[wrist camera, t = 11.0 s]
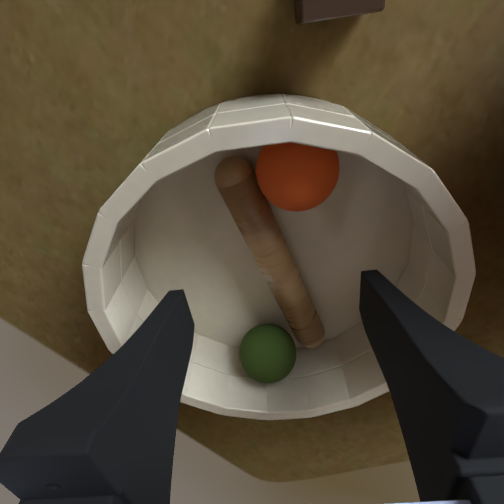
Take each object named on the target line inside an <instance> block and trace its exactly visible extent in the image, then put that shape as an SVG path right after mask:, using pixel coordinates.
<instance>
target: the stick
mask: <svg viewBox="0 0 504 504" xmlns="http://www.w3.org/2000/svg"><path fill="white" fill-rule="evenodd" d="M214 180H215V184H216V186H217V188H218V190H219V192H220V194H221V196H222V198H223V200H224V202H225V204H226V206H227V207H228V209H229V211H230V213H231V215H232V217H233V219H234V221H235V223H236V225H237V227H238V229H239V230H240V232H241V234H242V236H243V238H244V240H245V242H246V244H247V246H248V248H249V250H250V252H251V253H252V255H253V257H254V259H255V261H256V263H257V265H258V267H259V269H260V271H261V273H262V275H263V276H264V278H265V280H266V282H267V284H268V286H269V288H270V290H271V292H272V294H273V296H274V298H275V299H276V301H277V303H278V305H279V307H280V309H281V311H282V313H283V315H284V317H285V319H286V321H287V322H288V324H289V326H290V328H291V330H292V332H293V334H294V336H295V338H296V340H297V341H298V343H299V344H300V345H302V346H303V347H306V348H315V347H318V346H319V345H320V344H321V343H322V342H323V341H324V338H325V329H324V326H323V324H322V322H321V320H320V317H319V315H318V313H317V311H316V308H315V306H314V304H313V302H312V299H311V297H310V295H309V293H308V290H307V288H306V286H305V284H304V281H303V279H302V277H301V275H300V272H299V270H298V268H297V266H296V263H295V261H294V259H293V257H292V254H291V252H290V250H289V248H288V245H287V243H286V241H285V239H284V236H283V234H282V232H281V230H280V227H279V225H278V223H277V221H276V218H275V216H274V214H273V212H272V209H271V207H270V205H269V203H268V200H267V198H266V197H265V196H264V194H263V193H262V191H261V189H260V187H259V184H258V181H257V176H256V173H255V171H254V169H253V167H252V165H251V164H250V163H249V162H248V161H247V160H246V159H244V158H242V157H238V156H230V157H227V158H225V159H223V160H222V161H221V162H220V163H219V164H218V165H217V167H216V170H215V173H214Z"/></svg>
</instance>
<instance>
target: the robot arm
mask: <svg viewBox="0 0 504 504" xmlns="http://www.w3.org/2000/svg"><path fill="white" fill-rule="evenodd" d="M359 311H360V315H361V319H362V322H363V326H364V329H365V333H366V335H367V337H368V340H369V342H370V345H371V347H372V349H373V352H374V354H375V357H376V359H377V361H378V364H379V366H380V368H381V371H382V373H383V375H384V378H385V380H386V383H387V385H388V388H389V391H390V394H391V397H392V400H393V403H394V407H395V410H396V413H397V416H398V420H399V423H400V427H401V430H402V434H403V437H404V441H405V444H406V448H407V451H408V455H409V459H410V463H411V466H412V470H413V473H414V477H415V482H416V485H417V489H418V493H419V497H420V501H421V502H407V503H388V504H504V358H502V357H500V356H498V355H496V354H494V353H492V352H490V351H488V350H486V349H484V348H482V347H481V346H479V345H477V344H475V343H473V342H471V341H470V340H468V339H466V338H465V337H463V336H461V335H459V334H458V333H456V332H455V331H453V330H452V329H450V328H448V327H447V326H445V325H444V324H442V323H441V322H439V321H438V320H436V319H435V318H434V317H432V316H431V315H430V314H428V313H427V312H426V311H424V310H423V309H422V308H420V307H419V306H418V305H417V304H415V303H414V302H413V301H412V300H411V299H409V298H408V297H407V296H406V295H405V294H404V293H402V292H401V291H400V290H399V289H398V288H397V287H396V286H395V285H393V284H392V283H391V282H390V281H389V280H388V279H387V278H386V277H385V276H384V275H383V274H381V273H380V272H379V271H378V270H377V269H376V270H367V271H361V281H360V300H359ZM194 327H195V324H194V321H193V318H192V314H191V311H190V308H189V305H188V302H187V299H186V296H185V293H184V290H183V289H180V290H170V291H168V293H167V294H166V295H165V296H164V297H163V299H162V300H161V301H160V302H159V304H158V305H157V306H156V307H155V309H154V310H153V311H152V312H151V314H150V315H149V316H148V317H147V318H146V320H145V321H144V322H143V323H142V324H141V326H140V327H139V328H138V329H137V330H136V331H135V332H134V334H133V335H132V336H131V337H130V338H129V339H128V340H127V341H126V342H125V343H124V344H123V345H122V346H121V347H120V348H119V349H118V350H117V351H116V352H115V353H114V354H113V355H112V356H111V357H110V358H109V359H108V360H107V361H106V362H105V363H103V364H102V365H101V366H100V367H99V368H97V369H96V370H95V371H94V372H93V373H91V374H90V375H89V376H88V377H86V378H85V379H84V380H83V381H82V382H80V383H79V384H78V385H76V386H75V387H74V388H72V389H71V390H70V391H68V392H67V393H66V394H64V395H62V396H61V397H59V398H58V399H57V400H55V401H54V402H52V403H51V404H49V405H48V406H46V407H44V408H43V409H41V410H40V411H38V412H36V413H35V414H33V415H31V416H30V417H28V418H27V419H25V420H23V421H22V422H20V423H18V425H17V426H16V428H15V429H14V431H13V433H12V435H11V436H10V438H9V439H8V441H7V443H6V444H5V446H4V448H3V450H2V451H1V453H0V483H1V484H2V485H4V486H5V487H6V488H7V489H8V490H10V491H11V492H12V493H13V494H14V495H16V496H17V497H18V498H19V499H20V502H19V504H170V489H171V478H172V465H173V455H174V446H175V436H176V428H177V420H178V412H179V405H180V400H181V395H182V391H183V387H184V382H185V378H186V374H187V370H188V365H189V361H190V357H191V352H192V347H193V339H194Z"/></svg>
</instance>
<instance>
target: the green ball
mask: <svg viewBox="0 0 504 504" xmlns="http://www.w3.org/2000/svg"><path fill="white" fill-rule="evenodd" d="M239 357H240V362H241V364H242V367H243V369H244V370H245V372H246V373H247V374H248V375H249V376H250V377H251V378H253V379H254V380H256V381H259V382H262V383H274V382H278V381H280V380H282V379H284V378H285V377H286V376H287V375H288V374H289V373H290V372H291V370H292V369H293V367H294V364H295V361H296V346H295V343H294V341H293V339H292V337H291V336H290V334H289V333H288V332H287V331H286V330H284V329H283V328H282V327H280V326H277V325H274V324H261V325H258V326H255V327H254V328H252V329H251V330H249V331H248V332H247V333H246V335H245V336H244V338H243V339H242V342H241V344H240V350H239Z"/></svg>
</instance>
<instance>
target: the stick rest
mask: <svg viewBox="0 0 504 504" xmlns="http://www.w3.org/2000/svg"><path fill="white" fill-rule="evenodd" d="M294 3H295V21H296V24H298V25H299V24H305V23H311V22H318V21H324V20H330V19H336V18H342V17H348V16H355V15H361V14H367V13H373V12H379V11H382V10H384V7H385V0H294Z"/></svg>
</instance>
